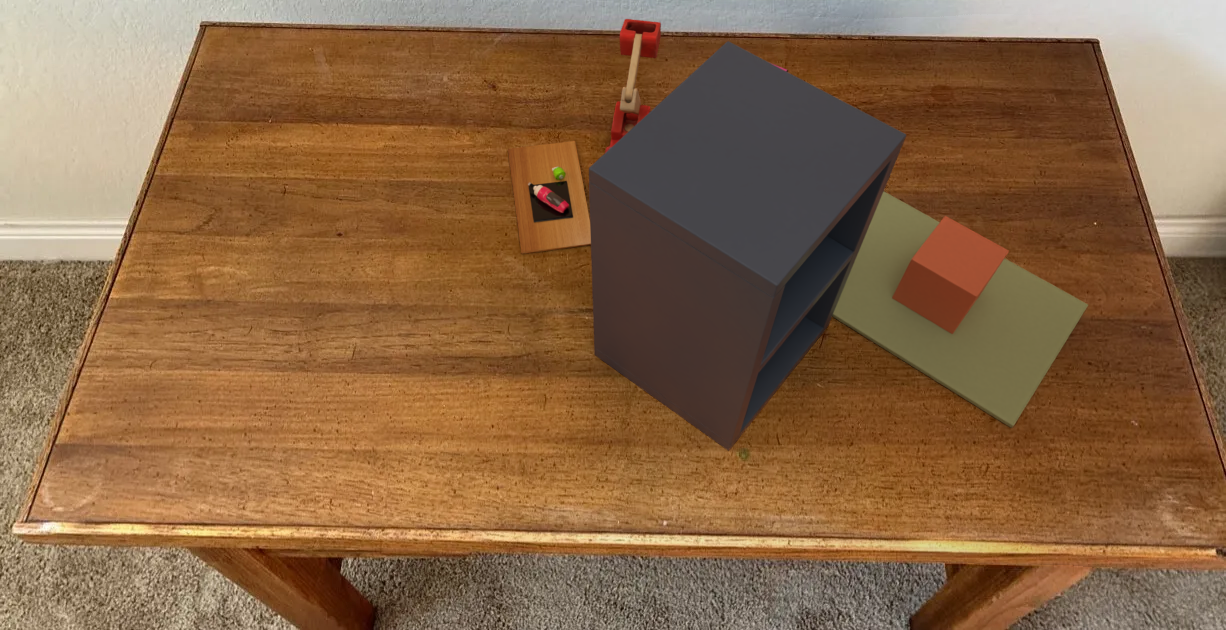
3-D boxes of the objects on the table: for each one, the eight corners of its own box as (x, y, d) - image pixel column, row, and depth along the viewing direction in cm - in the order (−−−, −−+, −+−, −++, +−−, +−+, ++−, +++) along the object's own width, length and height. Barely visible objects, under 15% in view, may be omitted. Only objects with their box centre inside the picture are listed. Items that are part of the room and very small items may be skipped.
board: (575, 142, 80) (574, 131, 79) (594, 244, 74) (594, 234, 73) (508, 150, 80) (506, 138, 79) (521, 254, 74) (520, 243, 72)
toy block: (983, 290, 71) (1009, 250, 67) (952, 334, 69) (977, 296, 64) (923, 256, 73) (945, 215, 68) (891, 298, 71) (911, 259, 66)
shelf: (828, 326, 70) (907, 134, 51) (728, 451, 64) (777, 285, 45) (698, 244, 74) (727, 40, 56) (594, 354, 68) (588, 167, 50)
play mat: (1086, 307, 71) (1088, 304, 71) (1011, 428, 65) (1013, 426, 65) (873, 188, 78) (874, 185, 77) (788, 289, 72) (788, 286, 71)
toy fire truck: (599, 202, 77) (598, 124, 68) (623, 94, 84) (624, 11, 76) (637, 207, 76) (640, 129, 68) (657, 97, 84) (662, 15, 75)
